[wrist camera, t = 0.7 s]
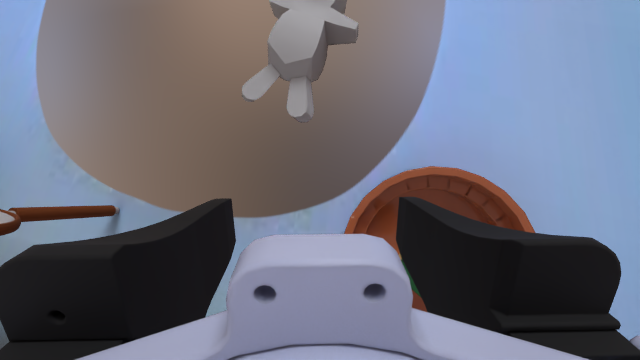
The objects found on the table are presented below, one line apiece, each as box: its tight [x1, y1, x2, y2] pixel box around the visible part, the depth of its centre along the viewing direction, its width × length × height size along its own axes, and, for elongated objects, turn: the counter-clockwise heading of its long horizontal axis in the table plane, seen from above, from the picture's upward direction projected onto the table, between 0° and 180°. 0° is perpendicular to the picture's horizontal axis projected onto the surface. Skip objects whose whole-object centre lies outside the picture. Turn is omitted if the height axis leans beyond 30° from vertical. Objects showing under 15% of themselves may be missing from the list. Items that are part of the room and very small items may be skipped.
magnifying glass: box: [0, 205, 119, 236], centre depth 26 cm, size 9×2×20 cm, turn 78°
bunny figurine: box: [242, 0, 358, 122], centre depth 31 cm, size 10×5×15 cm
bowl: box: [344, 166, 535, 312], centre depth 29 cm, size 16×16×4 cm
